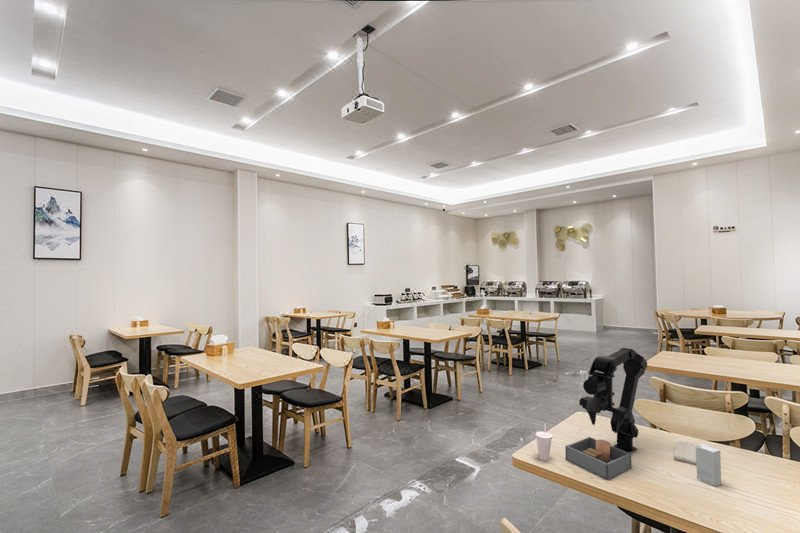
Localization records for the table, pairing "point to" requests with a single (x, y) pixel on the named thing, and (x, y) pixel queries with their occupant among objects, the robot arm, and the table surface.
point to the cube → (593, 453)
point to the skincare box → (708, 464)
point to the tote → (616, 466)
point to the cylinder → (603, 450)
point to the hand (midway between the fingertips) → (604, 428)
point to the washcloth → (685, 452)
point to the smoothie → (543, 444)
